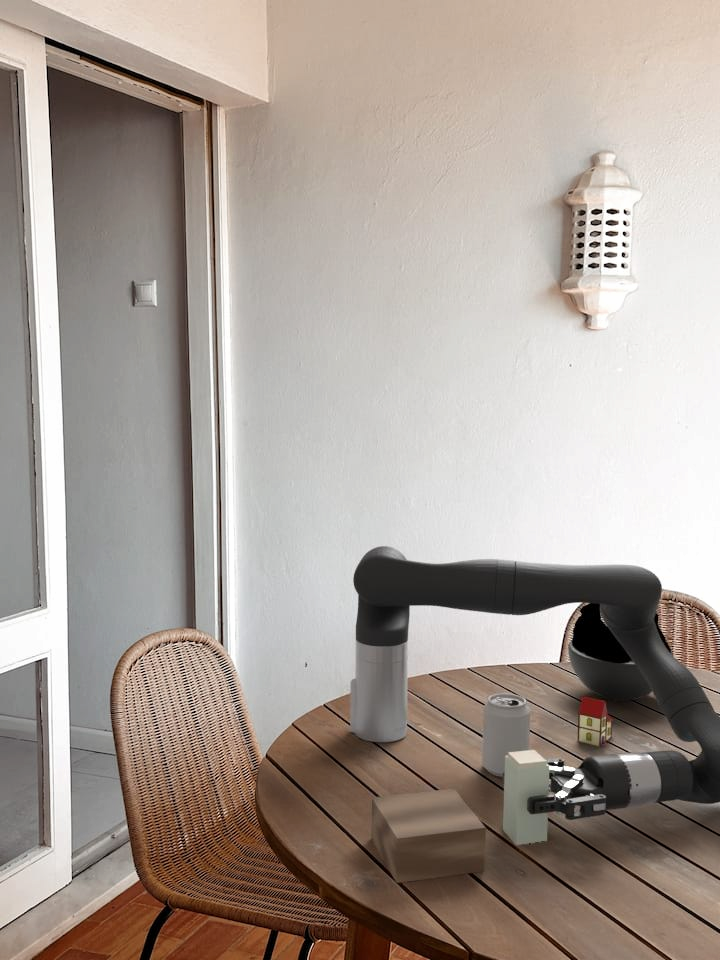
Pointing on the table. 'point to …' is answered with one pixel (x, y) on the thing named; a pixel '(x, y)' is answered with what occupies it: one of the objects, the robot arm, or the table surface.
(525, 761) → the sage tin
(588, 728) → the toy house
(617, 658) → the coal bowl
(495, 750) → the can
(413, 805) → the walnut block
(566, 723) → the table surface
